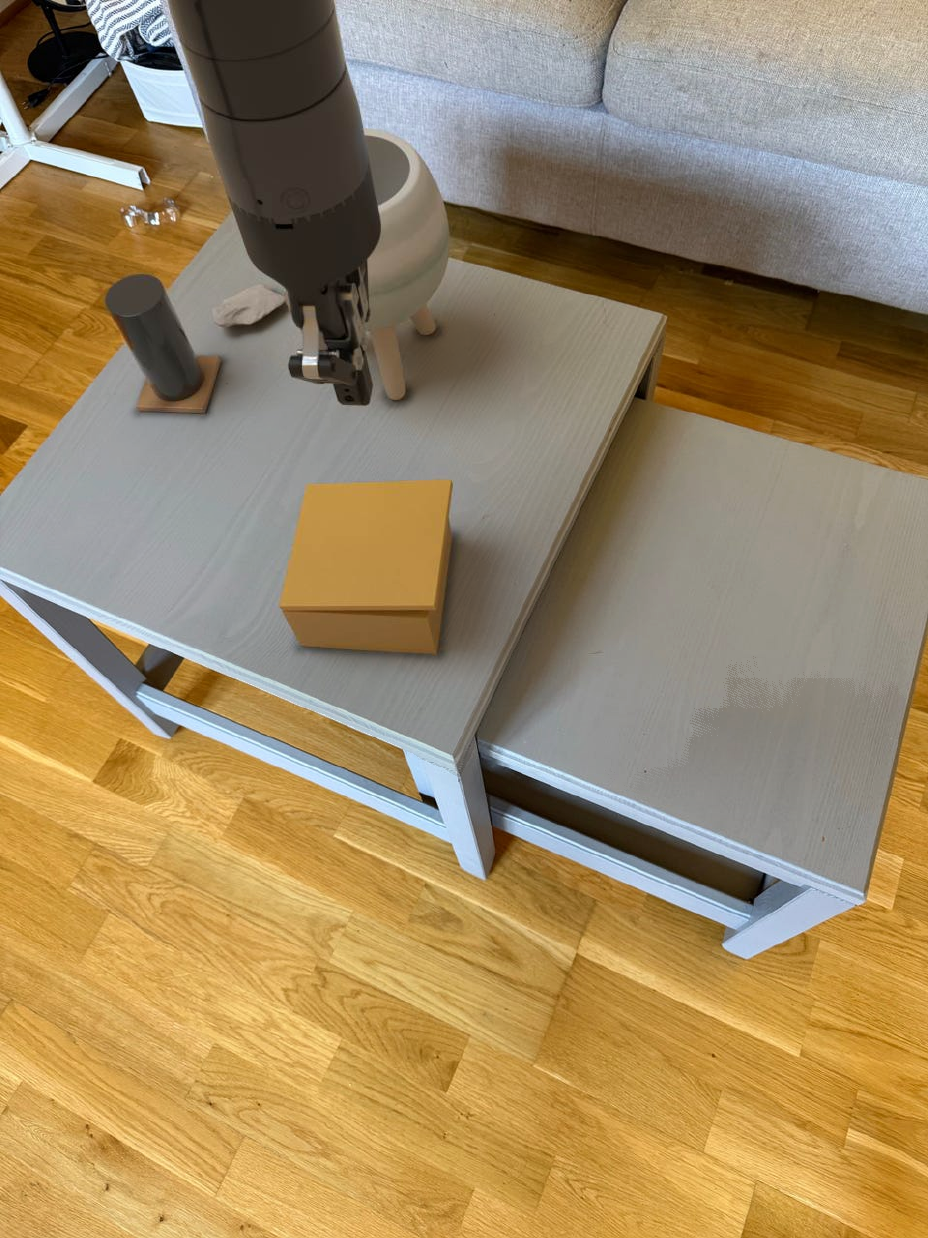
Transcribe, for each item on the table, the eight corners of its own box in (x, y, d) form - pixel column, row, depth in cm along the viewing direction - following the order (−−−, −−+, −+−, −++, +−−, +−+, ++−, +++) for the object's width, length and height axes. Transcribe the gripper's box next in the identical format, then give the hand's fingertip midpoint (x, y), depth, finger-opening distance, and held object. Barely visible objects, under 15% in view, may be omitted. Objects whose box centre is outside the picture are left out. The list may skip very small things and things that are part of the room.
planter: (409, 436, 93) (373, 259, 73) (286, 381, 98) (221, 201, 78) (490, 333, 99) (476, 143, 79) (369, 286, 104) (328, 96, 84)
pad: (138, 411, 98) (135, 406, 97) (156, 359, 101) (154, 354, 100) (205, 413, 97) (202, 408, 96) (221, 360, 100) (219, 355, 99)
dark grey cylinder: (145, 400, 97) (97, 315, 86) (159, 360, 100) (114, 272, 89) (197, 402, 96) (154, 316, 86) (209, 361, 99) (170, 273, 88)
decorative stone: (228, 347, 101) (220, 327, 98) (206, 318, 103) (197, 298, 101) (296, 312, 103) (289, 292, 100) (272, 284, 105) (265, 263, 102)
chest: (452, 536, 87) (445, 495, 81) (436, 654, 81) (428, 619, 75) (324, 530, 88) (308, 489, 82) (300, 646, 83) (281, 611, 77)
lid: (453, 484, 79) (451, 478, 79) (436, 610, 74) (434, 605, 73) (309, 489, 82) (306, 484, 82) (282, 610, 76) (278, 606, 76)
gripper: (251, 84, 49) (319, 324, 64) (192, 253, 43) (283, 474, 58) (386, 83, 48) (423, 326, 64) (345, 255, 42) (397, 478, 58)
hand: (356, 397), depth 61 cm, fingers closed
